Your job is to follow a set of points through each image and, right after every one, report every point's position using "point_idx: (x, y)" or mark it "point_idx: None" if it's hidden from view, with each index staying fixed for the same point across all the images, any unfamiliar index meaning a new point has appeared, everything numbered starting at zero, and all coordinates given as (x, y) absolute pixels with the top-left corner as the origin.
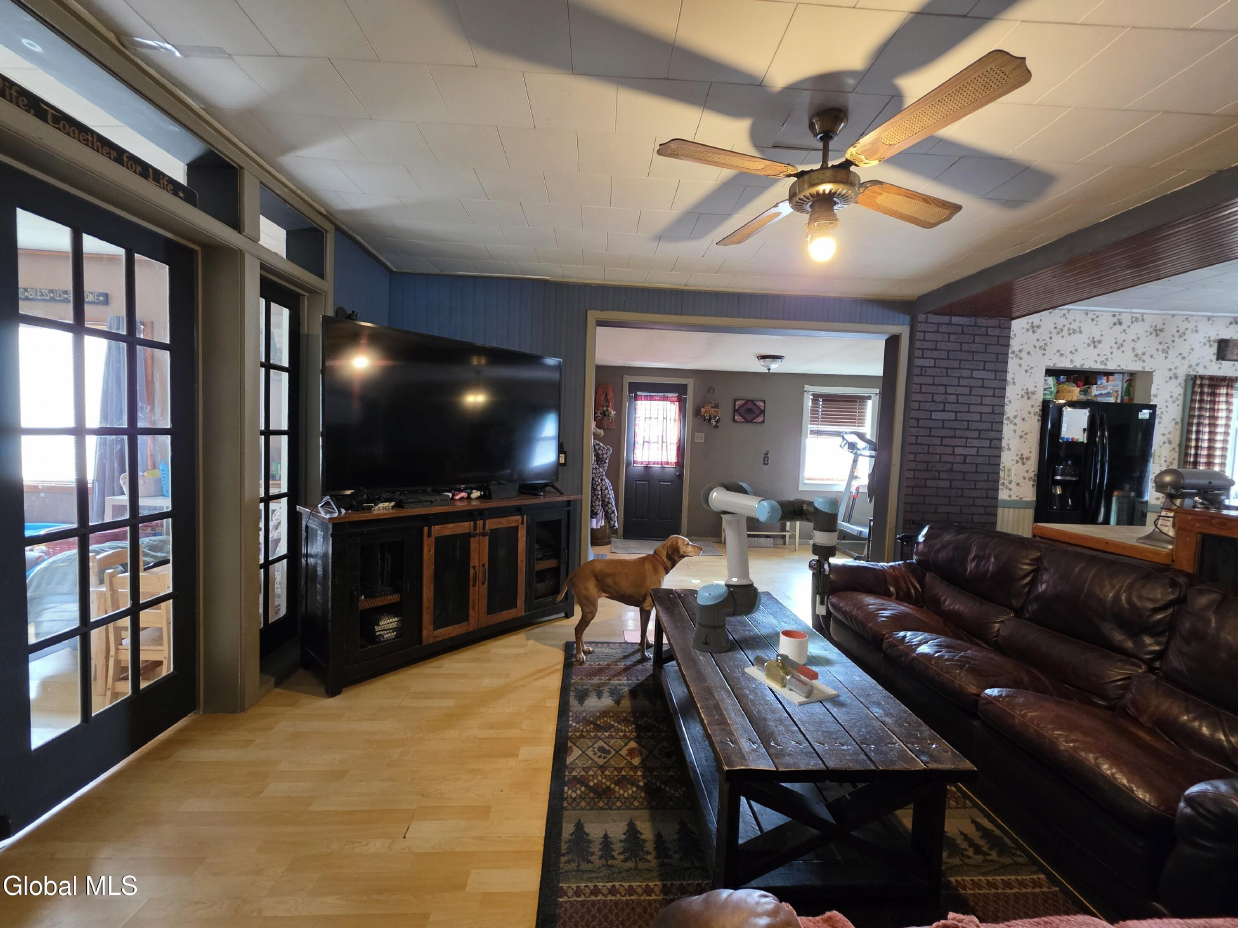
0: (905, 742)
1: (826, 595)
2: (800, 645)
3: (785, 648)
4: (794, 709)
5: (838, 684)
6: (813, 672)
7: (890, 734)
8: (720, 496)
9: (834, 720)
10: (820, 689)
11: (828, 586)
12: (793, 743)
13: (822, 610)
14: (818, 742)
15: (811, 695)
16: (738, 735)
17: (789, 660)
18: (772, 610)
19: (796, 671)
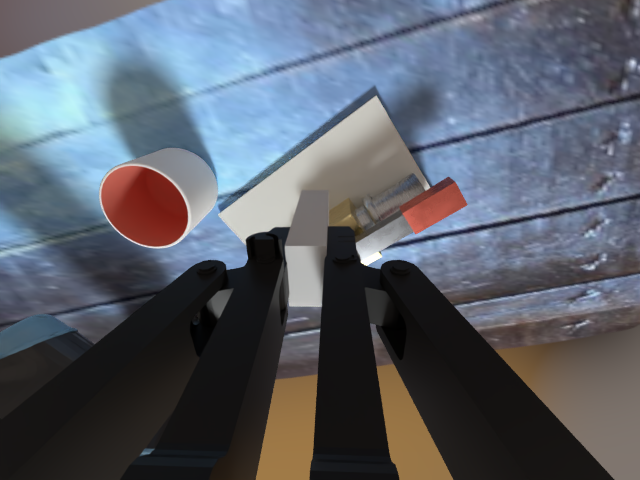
0: None
1: (355, 255)
2: (192, 187)
3: (199, 221)
4: (460, 214)
5: (301, 78)
6: (453, 196)
7: None
8: None
9: (508, 133)
10: (365, 142)
11: (475, 334)
12: (595, 233)
13: (328, 217)
14: (598, 187)
15: (404, 171)
16: (558, 313)
17: (370, 247)
18: None
19: (352, 211)
